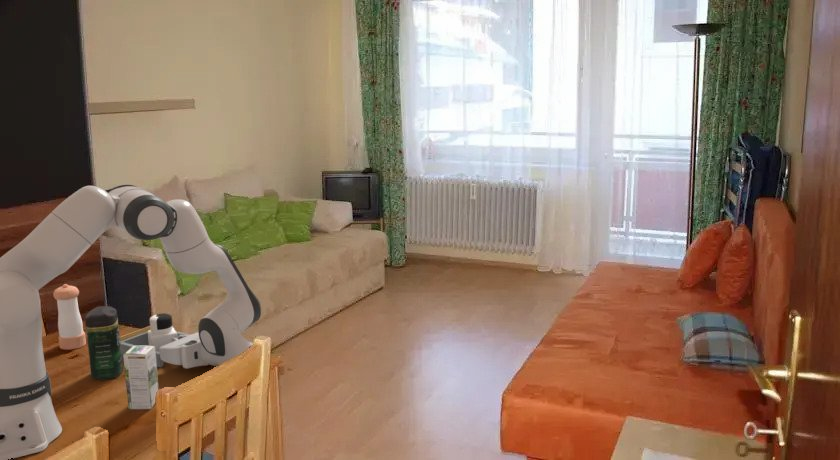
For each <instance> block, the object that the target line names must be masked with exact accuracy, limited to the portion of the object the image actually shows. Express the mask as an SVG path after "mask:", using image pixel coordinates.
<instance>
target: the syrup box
mask: <svg viewBox="0 0 840 460" xmlns="http://www.w3.org/2000/svg"><path fill="white" fill-rule="evenodd" d="M122 358H123V368H124V376H125V385H126V386H125V387H126V397H127V409H129V410H152V408H154V406H155V405H156V404H155V396H156V392H157V391H158V390H159V389H160V388H159V387H160V385H159V377H158V375H159V374H158V367H157V364H156V352H155V347H154V346H149V345H148V346H147V345H139V346H133V347H132V348H130V349H129V350H128V351H127V352H126V353H125V354H124V355H123V357H122ZM159 391H160V390H159Z"/></svg>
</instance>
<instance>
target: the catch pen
mask: <svg viewBox="0 0 840 460" xmlns="http://www.w3.org/2000/svg"><path fill="white" fill-rule="evenodd" d="M148 330H151V328H150V325H148V326H146V327H143V328H140V329H138V330H134V331H132V332H129V333H127V334H123V335H121V336H120V345H121V354H122V358H124V357H123V355H124V354H125V353H126V352H127V351H128V350H129V349H130V348H132V347H133V346H139V345H147V346H149V341H148ZM175 331H176V333H177V336H179V335H183V336H184V335H191V334H190V333H186V332H182V331H177V330H175ZM155 352H156V364H157V368H163V367H164V361H162V360H161V359H160V354H159V352H158V351H155Z"/></svg>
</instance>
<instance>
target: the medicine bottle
mask: <svg viewBox="0 0 840 460" xmlns="http://www.w3.org/2000/svg"><path fill="white" fill-rule="evenodd" d="M149 326H150V328H151V330H148V341H149V345H148V346H154V347H155V351H158V352H159V348H160V347H161V346H164V345H166V344H169V343H171V342H172V341H171V339H172V338H174V337H176V336H177V333H176V331H177V330H176V329H175V328H174V326H173V318H172V315H171V314H169V313H157V314H154V315H152V316H150V318H149Z"/></svg>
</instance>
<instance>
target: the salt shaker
mask: <svg viewBox="0 0 840 460" xmlns="http://www.w3.org/2000/svg"><path fill="white" fill-rule="evenodd" d="M52 294H53V295H52V296H53V298H54V299H55V300H56V303H57V312H58V317H57V320H58V321H57V329H58V334H59V335H58V336H57V337H58V344H59V348H60V349H61V350H66V351H67V350H68V351H69V350H75V349H79V348H82V347H84V346H86V344H87V339H86V338H87V337H86V333H85V332H86V331H84V325H83V320H82V316H81V313H80V309H79V304H78V302H79V301H78V296H79V294H80V290H79V288H78V287H77V286H74V285H69V284H67V283H64V284H63V285H62V286H59V287H58V288H55V289H54V291H53V293H52Z"/></svg>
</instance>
